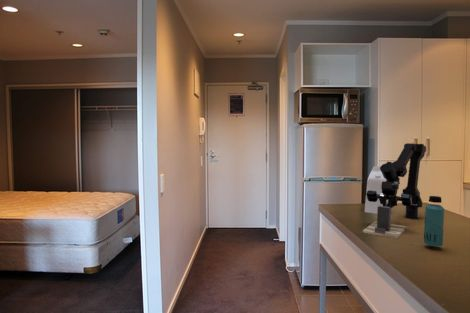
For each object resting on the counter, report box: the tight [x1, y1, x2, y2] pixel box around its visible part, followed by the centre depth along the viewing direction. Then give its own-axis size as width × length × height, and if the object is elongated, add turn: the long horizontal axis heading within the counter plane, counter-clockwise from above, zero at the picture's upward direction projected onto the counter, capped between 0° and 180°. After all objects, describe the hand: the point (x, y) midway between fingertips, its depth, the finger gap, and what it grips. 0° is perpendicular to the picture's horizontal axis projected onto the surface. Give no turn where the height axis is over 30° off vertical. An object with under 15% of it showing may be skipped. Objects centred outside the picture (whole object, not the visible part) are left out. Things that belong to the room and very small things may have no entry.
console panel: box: [362, 221, 407, 240], centre depth 147 cm, size 20×14×3 cm
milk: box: [364, 165, 388, 215], centre depth 185 cm, size 12×12×26 cm
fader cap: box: [376, 206, 392, 231], centre depth 144 cm, size 4×5×10 cm
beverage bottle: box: [423, 195, 445, 248], centre depth 123 cm, size 6×7×20 cm
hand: (385, 212), depth 146 cm, fingers closed, pressing on fader cap
